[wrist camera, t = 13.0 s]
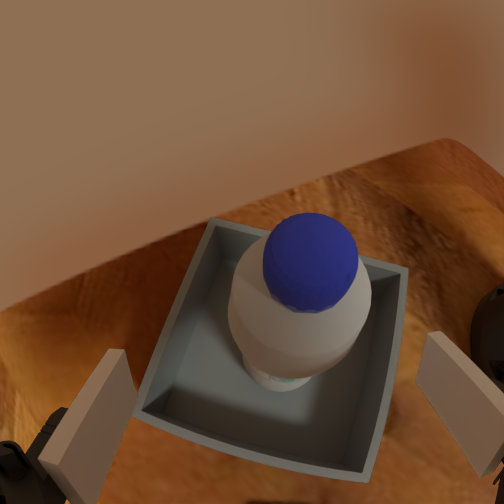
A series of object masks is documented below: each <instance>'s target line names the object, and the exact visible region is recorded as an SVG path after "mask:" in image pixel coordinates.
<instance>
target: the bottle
mask: <svg viewBox="0 0 504 504" xmlns="http://www.w3.org/2000/svg"><path fill="white" fill-rule="evenodd" d="M370 306H371V284H370V280H369V277H368V273H367V270H366V268H365V266H364V264H363V262H362V261H361V259H360V258H359V256H358V250H357V246H356V243H355V240H354V239H353V237H352V236H351V233H350V232H349V231H347V229H346V228H345V227H344V226H343V225H342V224H340V223H339V222H338V221H336V220H334V219H333V218H331V217H328V216H326V215H323V214H318V213H303V214H297V215H293V216H290V217H289V218H287V219H285V220H283V221H282V222H281V223H280V224H278V225H277V226H276V227H275V228H274V230H273V231H272V232H271V233H269V234H267V235H265V236H263V237H261V238H260V239H259V240H257V241H256V242H255V243H254V244H252V245H251V246H250V247H249V248H248V250H247V251H246V252H245V253H244V254H243V256H242V257H241V259H240V261H239V262H238V264H237V267H236V269H235V272H234V276H233V281H232V288H231V295H230V298H229V304H228V322H229V327H230V330H231V333H232V336H233V338H234V340H235V342H236V344H237V346H238V347H239V349H240V351H241V352H242V356H243V362H244V366H245V369H246V371H247V373H248V374H249V376H250V377H251V378H252V379H253V381H254V382H255V383H257V384H258V385H259V386H261V387H262V388H264V389H267V390H271V391H276V392H286V391H292V390H294V389H296V388H299V387H300V386H302V385H304V384H305V383H306V382H308V381H309V379H310V378H311V377H312V376H315V375H317V374H319V373H321V372H324V371H326V370H328V369H330V368H332V367H333V366H335V365H336V364H337V363H339V362H340V361H341V360H342V359H343V358H344V357H345V356H346V355H347V354H348V353H349V351H350V350H351V348H352V347H353V345H354V343H355V341H356V339H357V337H358V335H359V333H360V331H361V329H362V327H363V325H364V323H365V321H366V319H367V316H368V313H369V309H370Z"/></svg>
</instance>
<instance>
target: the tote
mask: <svg viewBox="0 0 504 504" xmlns="http://www.w3.org/2000/svg"><path fill="white" fill-rule="evenodd" d="M269 233H271V232H270V231H266V230H262V229H258V228H254V227H250V226H246V225H242V224H238V223H234V222H230V221H226V220H222V219H218V218H213V217H211V218H210V220H209V222H208V225H207V227H206V229H205V231H204V233H203V236H202V238H201V240H200V242H199V245H198V247H197V249H196V251H195V254H194V256H193V258H192V260H191V263H190V265H189V267H188V270H187V272H186V274H185V277H184V279H183V281H182V284H181V286H180V288H179V291H178V293H177V295H176V298H175V300H174V302H173V305H172V307H171V310H170V312H169V314H168V317H167V319H166V322H165V324H164V327H163V329H162V332H161V334H160V337H159V339H158V342H157V344H156V347H155V349H154V352H153V354H152V357H151V359H150V362H149V364H148V367H147V370H146V372H145V375H144V377H143V380H142V383H141V385H140V388H139V391H138V393H137V397H138V400H137V403H136V405H135V407H134V410H133V412H132V415H131V416H132V417H134V418H136V419H139V420H141V421H143V422H145V423H147V424H150V425H152V426H154V427H157V428H159V429H161V430H164V431H166V432H169V433H171V434H174V435H176V436H179V437H181V438H184V439H187V440H189V441H192V442H195V443H197V444H200V445H203V446H206V447H209V448H212V449H215V450H218V451H221V452H224V453H227V454H230V455H234V456H237V457H240V458H244V459H247V460H251V461H254V462H258V463H262V464H266V465H270V466H274V467H278V468H282V469H287V470H291V471H296V472H301V473H306V474H311V475H316V476H322V477H328V478H334V479H341V480H348V481H356V482H365V483H368V482H369V479H370V476H371V473H372V470H373V466H374V463H375V460H376V456H377V453H378V449H379V445H380V442H381V438H382V434H383V430H384V426H385V422H386V418H387V414H388V409H389V405H390V400H391V396H392V391H393V386H394V380H395V375H396V370H397V364H398V358H399V352H400V345H401V338H402V331H403V323H404V314H405V305H406V295H407V284H408V270H409V268H406V267H402V266H399V265H395V264H392V263H388V262H384V261H381V260H377V259H373V258H370V257H366V256H362V255H359V254H358V256H359V258H360V259H361V261H362V262H363V264H364V266H365V268H366V270H367V273H368V277H369V280H370V284H371V306H370V309H369V313H368V316H367V319H366V321H365V323H364V325H363V327H362V329H361V331H360V333H359V335H358V337H357V339H356V341H355V343H354V345H353V347H352V348H351V350H350V351H349V353H348V354H347V355H346V356H345V357H344V358H343V359H342V360H341V361H340V362H339V363H337V364H336V365H335V366H333V367H332V368H330V369H328V370H326V371H324V372H321V373H319V374H317V375H315V376H312V377H311V378H310V379H309V381H308V382H306V383H305V384H304V385H302V386H300V387H299V388H296V389H294V390H292V391H286V392H276V391H271V390H267V389H264V388H262V387H261V386H259V385H258V384H257V383H255V382H254V381H253V379H252V378H251V377H250V376H249V374H248V373H247V371H246V369H245V366H244V362H243V356H242V352H241V351H240V349H239V347H238V346H237V344H236V342H235V340H234V338H233V336H232V333H231V330H230V327H229V322H228V304H229V298H230V295H231V288H232V281H233V276H234V272H235V269H236V267H237V264H238V262H239V261H240V259H241V257H242V256H243V254H244V253H245V252H246V251H247V250H248V248H249V247H250V246H251V245H252V244H254V243H255V242H256V241H257V240H259V239H260V238H261V237H263V236H265V235H267V234H269Z"/></svg>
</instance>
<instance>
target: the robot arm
mask: <svg viewBox="0 0 504 504" xmlns="http://www.w3.org/2000/svg"><path fill="white" fill-rule="evenodd" d="M470 341H471V354H472V360H473V362H472V361H471V360H470V359H469V358H468V357H467V356H466V355H465V354H464V353H463V352H462V351H461V350H460V349H459V348H458V347H457V346H456V345H455V344H454V343H453V342H452V341H451V340H450V339H449V338H448V337H447V336H446V335H445V334H444V333H443V332H442V331H436V332H430V333H427V337H426V341H425V346H424V350H423V354H422V359H421V363H420V367H419V370H418V374H417V378H416V383H417V385H418V386H419V388H420V389H421V391H422V392H423V393H424V395H425V396H426V398H427V399H428V401H429V402H430V404H431V405H432V406H433V408H434V409H435V411H436V412H437V414H438V415H439V417H440V418H441V420H442V421H443V423H444V424H445V426H446V427H447V429H448V430H449V432H450V433H451V435H452V436H453V438H454V439H455V441H456V442H457V444H458V445H459V447H460V448H461V450H462V452H463V453H464V455H465V456H466V458H467V459H468V461H469V463H470V464H471V466H472V467H473V469H474V471H475V472H476V474H477V475H478V477H479V479H480V478H482V477H484V476H486V475H488V474H490V473H492V472H494V471H495V469H496V468H497V467H498V465H499V464H500V462H501V461H502V462H503V464H504V283H502V284H500V285H499V286H497V287H496V288H494V289H493V290H492V291H490V292H489V293H488V294H487V295H486V296H485V297H484V298H483V299H482V300H481V302H480V303H479V305H478V307H477V309H476V311H475V314H474V317H473V321H472V327H471V340H470ZM137 400H138V397H137V393H136V390H135V386H134V383H133V379H132V376H131V372H130V368H129V364H128V360H127V357H126V352H125V350H124V349H108V351H107V352H106V354H105V355H104V356H103V358H102V359H101V361H100V362H99V364H98V365H97V367H96V368H95V370H94V371H93V373H92V374H91V376H90V377H89V378H88V380H87V381H86V383H85V384H84V386H83V387H82V389H81V390H80V392H79V394H78V395H77V397H76V398H75V400H74V401H73V403H72V404H71V406H70V407H69V408H63V407H60V408H59V409H58V410H56V411H55V412H54V413H52V414H51V416H50V417H49V418H48V420H47V421H46V423H45V425H44V426H43V427H42V429H41V430H40V431H41V432H39V433H38V435H37V436H36V438H35V440H34V441H33V443H32V444H31V446H30V447H29V449H28V450H27V452H26V454H25V453H24V452H23V450H22V449H21V447H20V446H19V445H18V444H17V443H16V442H13V441H2V442H0V504H65V501H66V499H67V500H68V501H69V502H70V503H71V504H96V503H97V500H98V497H99V495H100V492H101V489H102V487H103V484H104V481H105V479H106V476H107V474H108V471H109V469H110V466H111V464H112V461H113V459H114V456H115V453H116V451H117V449H118V446H119V444H120V441H121V439H122V436H123V434H124V431H125V429H126V426H127V424H128V422H129V419H130V417H131V415H132V412H133V410H134V407H135V405H136V403H137ZM499 479H500V482H499V484H498V485H499V487H498V492H497V496H496V501H495V504H504V467H503V469H502V470H501V472H500V473H499V474H498V476H497V477H496V479H495V480H494V482H493V485H495V484H496V482H497V481H498V480H499Z"/></svg>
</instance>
